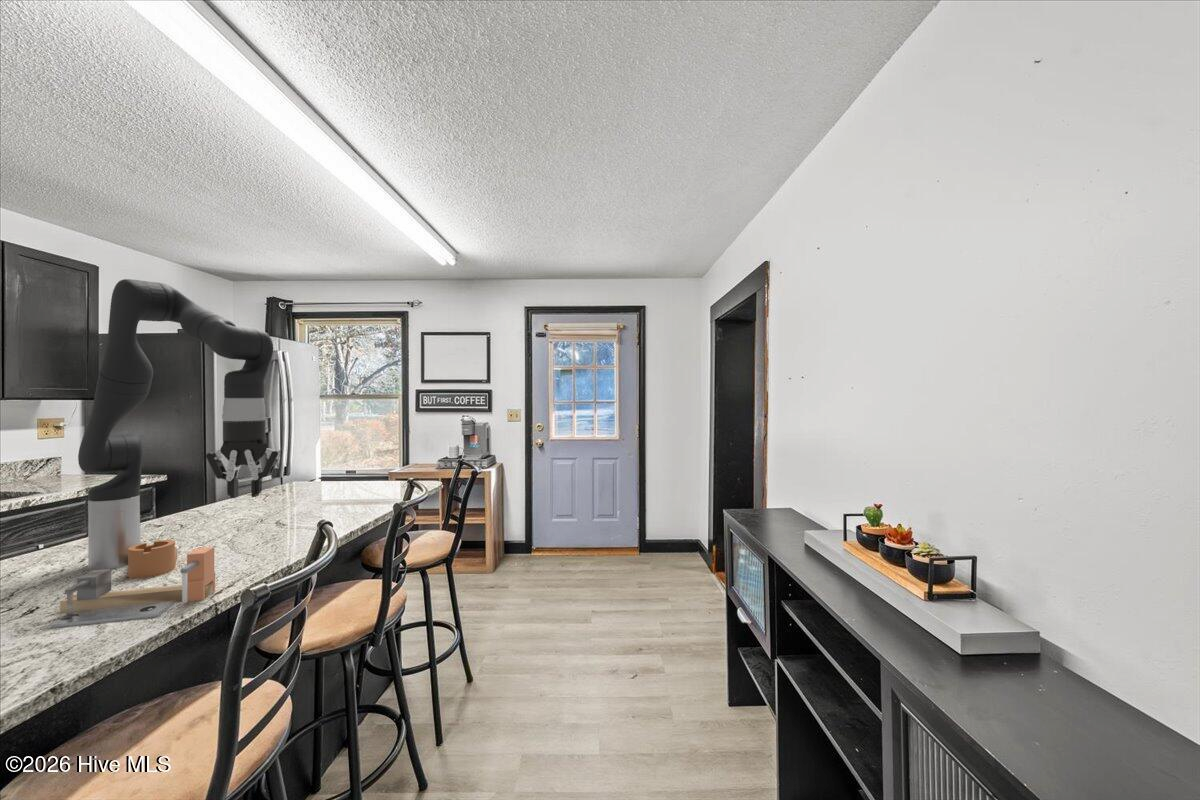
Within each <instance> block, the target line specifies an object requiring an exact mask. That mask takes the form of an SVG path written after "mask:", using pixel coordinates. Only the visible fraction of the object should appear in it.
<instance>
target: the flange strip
mask: <svg viewBox="0 0 1200 800" xmlns="http://www.w3.org/2000/svg"><path fill="white" fill-rule="evenodd" d="M175 605H176V601H167V602H157V603H147V604H137V605H128V606H118V607H108V608H98V609H88V610H77V611H73V614H72V615H67V614H66V615H65V616H62V617H61V618H59V620H56V621H55V622H53V623H52V624H50V625H49V626H50V629H56V628H57V629H58V628H67V627H76V626H83V625H84V626H85V625H93V624H94V625H95V624H102V623H104V624H105V623H112V622H113V623H114V622H123V621H125V622H126V621H131V620H132V621H133V620H142V619H153V618H158V617H160V615H163V614H164V613H165V612H166V611H168V610H169V609H171V608H172V607H174V606H175Z"/></svg>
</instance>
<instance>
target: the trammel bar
mask: <svg viewBox="0 0 1200 800" xmlns="http://www.w3.org/2000/svg"><path fill="white" fill-rule="evenodd" d="M75 592H76V594H74V593H75ZM213 593H214V592H213V582H210V583H209V584H208V585H206V586H205V599H206V598H208V597H209V596H210V595H212V594H213ZM64 595H66V598H64V599H62V600H60V601H59V602H60V603H59V605H60V606H59V607H60V609H59V610H60V611H59V612H60V613H64V612H66V616H67V615H72V614H73V612H74V611H79V610H89V609H98V608H108V607H118V606H128V605H137V604H147V603H157V602H167V601H175V602H179V601H182V584H177V585H176V584H175V585H165V586H163V585H162V586H155V587H145V588H134V589H133V588H132V589H125V590H124V589H122V590H113V591H112V569H104V570H90V571H89V572H87V573H85V574H82V575H81V576H78V577H76V584H74V585H72V586H70V587H68V588H66V589H64ZM207 596H208V597H207Z"/></svg>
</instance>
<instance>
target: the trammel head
mask: <svg viewBox="0 0 1200 800" xmlns="http://www.w3.org/2000/svg"><path fill="white" fill-rule="evenodd" d="M180 574H181V585H182V600H181V603H182V604H186V603H188V602H196V601H195V600H198V601H204V600H206V598H205V586H206V585H208V584H209V583H210V582H213V593H214V592H215V591H216V571H215V546H209V547H205V546H204V547H197V548H196V549H194V550H192V551H191V552H189V553H187V554H186V565H185V566H184V567H182V568H181V569H180ZM187 601H188V602H187Z"/></svg>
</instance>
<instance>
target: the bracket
mask: <svg viewBox="0 0 1200 800" xmlns="http://www.w3.org/2000/svg"><path fill="white" fill-rule="evenodd" d="M177 560H178V547H177V546H176V541H175V540H171V539H160V540H154V541H153V544H148V543H147V541H145V542H142V543H141V544H137V545H134V546H131V547H129V548H128V566H127V577H128V578H129V579H143V578H144V579H145V578H150V577H151V578H152V577H157V576H160V575H164V574H167V573H170V572H172V571H174V570H176V565H177V562H178V561H177Z"/></svg>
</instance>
